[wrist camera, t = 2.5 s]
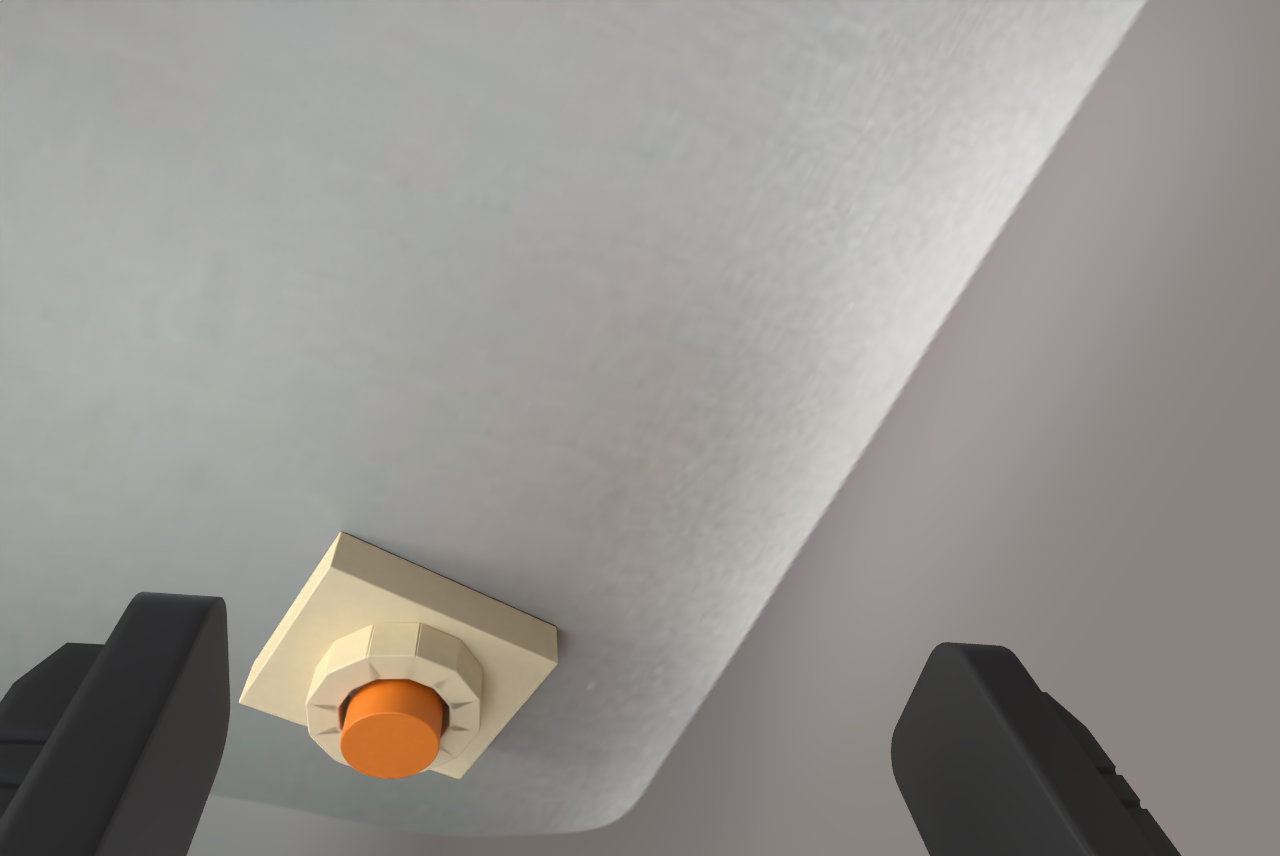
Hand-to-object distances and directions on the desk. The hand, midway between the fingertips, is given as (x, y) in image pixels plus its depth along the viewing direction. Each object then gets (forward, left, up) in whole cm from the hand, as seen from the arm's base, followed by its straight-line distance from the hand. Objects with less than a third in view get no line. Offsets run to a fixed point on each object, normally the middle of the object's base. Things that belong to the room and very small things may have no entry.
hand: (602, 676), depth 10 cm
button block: (-5, +19, -21) cm, 29 cm away
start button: (-5, +19, -17) cm, 26 cm away
